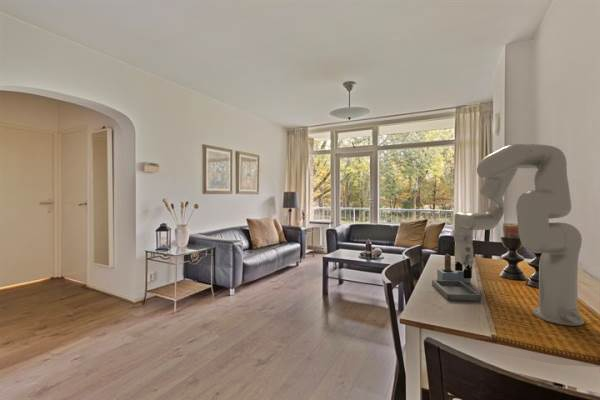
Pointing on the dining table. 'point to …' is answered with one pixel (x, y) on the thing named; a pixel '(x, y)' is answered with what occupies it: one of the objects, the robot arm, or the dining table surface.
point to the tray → (456, 290)
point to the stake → (447, 263)
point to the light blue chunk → (452, 275)
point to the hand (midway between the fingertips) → (463, 275)
